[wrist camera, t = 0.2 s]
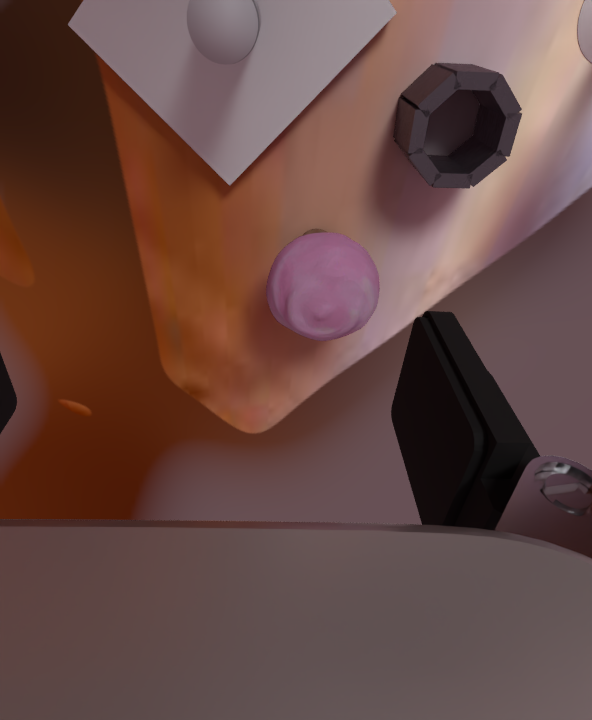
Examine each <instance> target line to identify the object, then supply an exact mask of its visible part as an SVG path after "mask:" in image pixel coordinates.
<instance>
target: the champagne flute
mask: <svg viewBox="0 0 592 720" xmlns="http://www.w3.org/2000/svg"><path fill="white" fill-rule="evenodd" d="M577 31H578V42H579V45H580V49H581V51H582V52H583V54H584V56H585V57H586V58H587V59H588V60H589V61H590V62H591V63H592V0H585V1H584V3H583V5H582V8H581V12H580V16H579V21H578V30H577Z"/></svg>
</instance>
